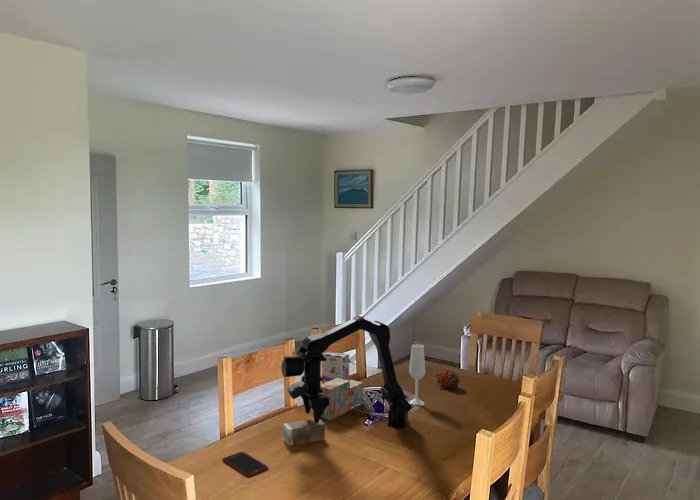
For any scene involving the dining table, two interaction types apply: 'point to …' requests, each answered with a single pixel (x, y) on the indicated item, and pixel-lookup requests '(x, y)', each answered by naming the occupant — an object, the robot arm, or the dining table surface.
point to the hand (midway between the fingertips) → (311, 418)
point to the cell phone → (245, 464)
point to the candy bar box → (335, 366)
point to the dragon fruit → (448, 379)
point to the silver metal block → (303, 432)
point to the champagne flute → (417, 369)
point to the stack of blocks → (341, 396)
